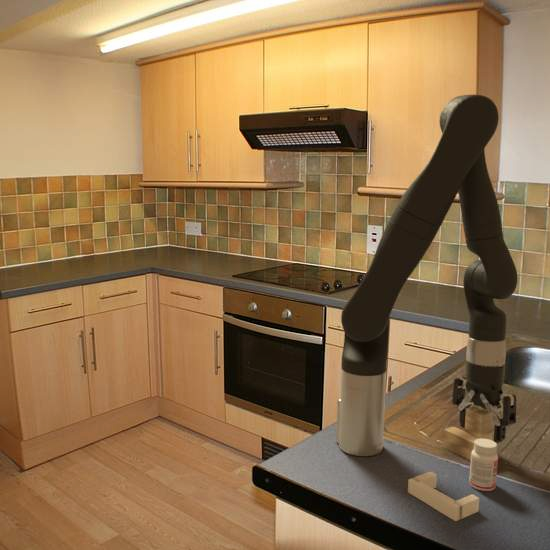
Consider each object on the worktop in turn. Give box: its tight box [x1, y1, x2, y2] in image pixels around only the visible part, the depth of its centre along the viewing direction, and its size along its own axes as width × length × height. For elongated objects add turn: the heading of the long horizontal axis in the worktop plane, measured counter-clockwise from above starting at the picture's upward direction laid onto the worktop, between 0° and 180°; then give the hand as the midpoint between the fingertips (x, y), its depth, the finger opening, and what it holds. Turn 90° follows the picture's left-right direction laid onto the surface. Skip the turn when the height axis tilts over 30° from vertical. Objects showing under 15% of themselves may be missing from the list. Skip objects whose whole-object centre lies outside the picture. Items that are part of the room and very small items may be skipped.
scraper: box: [442, 405, 495, 462], centre depth 125 cm, size 10×7×9 cm
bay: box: [407, 471, 480, 522], centre depth 107 cm, size 11×6×2 cm, turn 33°
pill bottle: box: [468, 439, 499, 492], centre depth 112 cm, size 5×5×8 cm
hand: (481, 434), depth 125 cm, fingers open, 8 cm apart
